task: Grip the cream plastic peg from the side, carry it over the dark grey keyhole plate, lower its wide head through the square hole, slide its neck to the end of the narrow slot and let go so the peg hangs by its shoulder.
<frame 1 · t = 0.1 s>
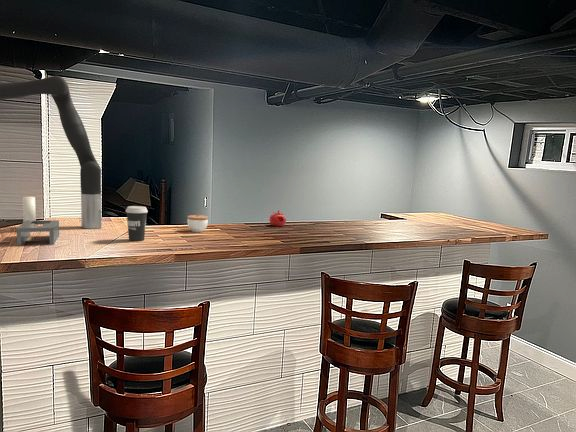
peg: (30, 231, 203), on the table
keyhole plate: (39, 240, 184), on the table
pomegranate: (277, 226, 257), on the table
lidded jar: (197, 231, 225), on the table
coffee cup: (136, 240, 195), on the table
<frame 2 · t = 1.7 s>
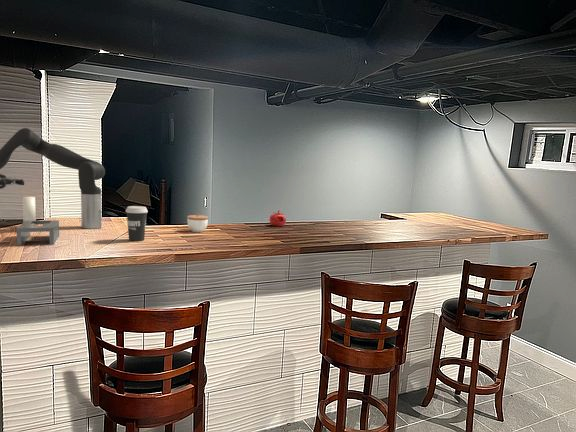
hand: (14, 183, 205), 22 cm above the table, tool horizontal, fingers open, 8 cm apart
nothing on the table moved.
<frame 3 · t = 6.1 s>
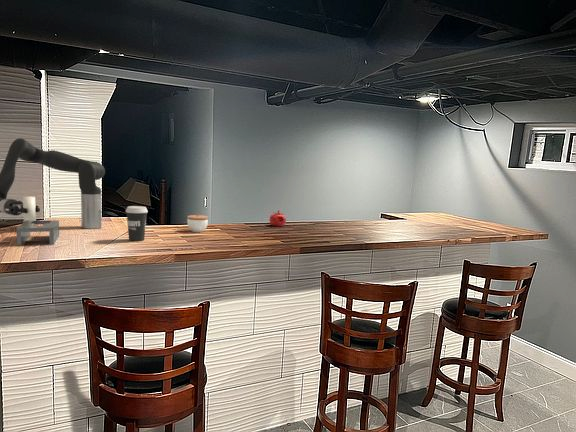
hand: (32, 210, 200), 10 cm above the table, tool horizontal, fingers closed on peg, 5 cm apart
peg: (30, 231, 203), on the table, touching gripper
everything else where it was.
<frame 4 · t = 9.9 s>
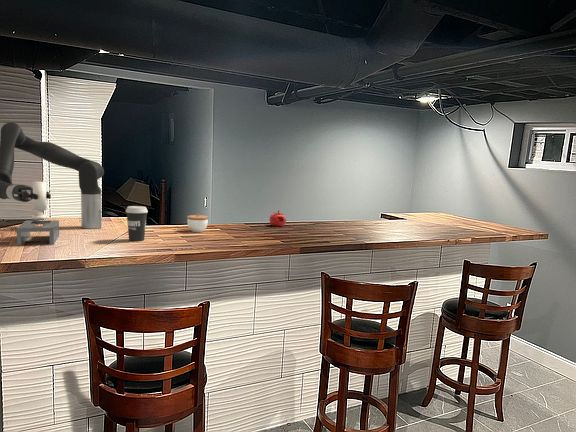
hand: (43, 196, 185), 18 cm above the table, tool horizontal, fingers closed on peg, 5 cm apart
peg: (40, 218, 188), point 8 cm above the table, touching gripper
everything else where it was.
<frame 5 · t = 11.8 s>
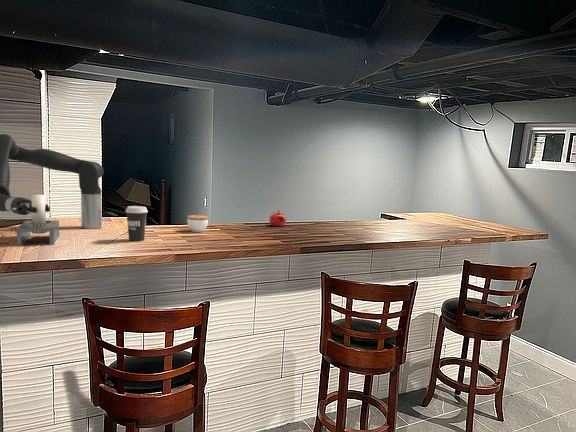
hand: (42, 209, 183), 13 cm above the table, tool horizontal, fingers closed on peg, 5 cm apart
peg: (39, 232, 185), point 3 cm above the table, touching gripper
everything else where it was.
when the fingers open (13 cm above the table, at t = 13.8 s): peg stays where it is, resting on keyhole plate.
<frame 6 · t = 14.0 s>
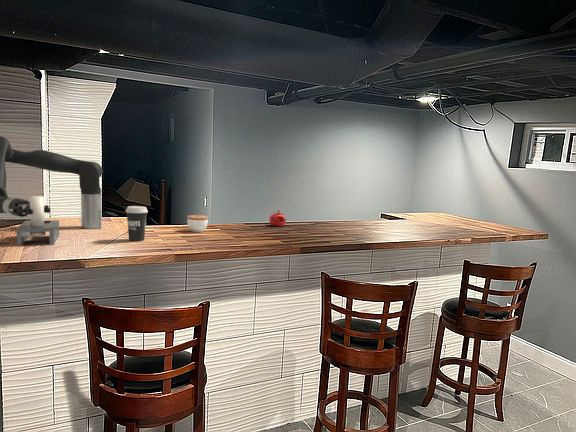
hand: (40, 211, 178), 13 cm above the table, tool horizontal, fingers open, 7 cm apart
peg: (37, 234, 181), point 3 cm above the table, touching keyhole plate
everything else where it was.
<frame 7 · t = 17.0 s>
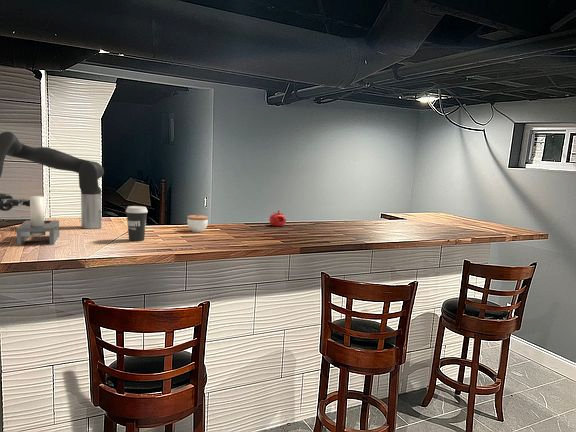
hand: (22, 204, 185), 14 cm above the table, tool horizontal, fingers open, 8 cm apart
nothing on the table moved.
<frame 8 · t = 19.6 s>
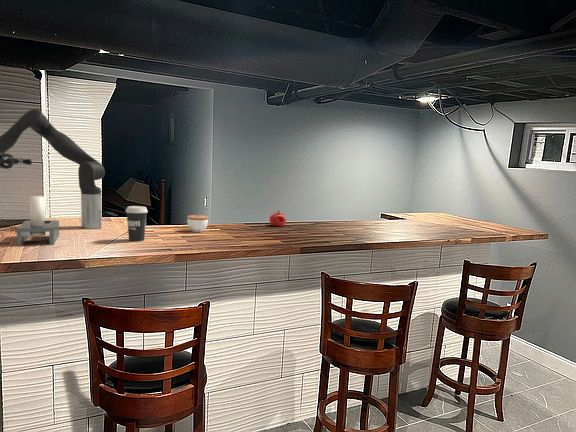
hand: (21, 162, 199), 32 cm above the table, tool horizontal, fingers open, 8 cm apart
nothing on the table moved.
at the end: peg 0.1 cm from the target spot on the keyhole plate, point 3.0 cm above the keyhole plate's base; peg tilted 0°; the gripper is holding nothing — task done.
